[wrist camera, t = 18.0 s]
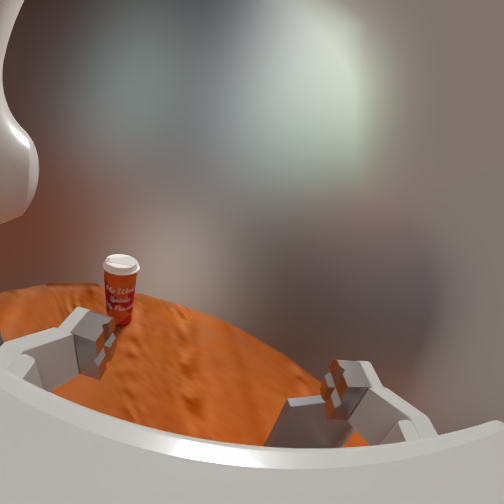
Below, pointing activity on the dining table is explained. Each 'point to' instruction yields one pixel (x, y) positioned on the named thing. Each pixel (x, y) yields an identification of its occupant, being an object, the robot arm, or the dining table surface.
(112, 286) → the paper cup
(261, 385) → the dining table surface
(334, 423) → the case
